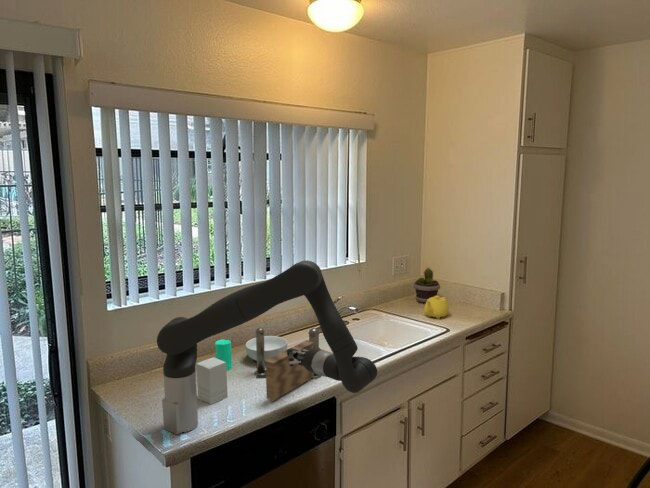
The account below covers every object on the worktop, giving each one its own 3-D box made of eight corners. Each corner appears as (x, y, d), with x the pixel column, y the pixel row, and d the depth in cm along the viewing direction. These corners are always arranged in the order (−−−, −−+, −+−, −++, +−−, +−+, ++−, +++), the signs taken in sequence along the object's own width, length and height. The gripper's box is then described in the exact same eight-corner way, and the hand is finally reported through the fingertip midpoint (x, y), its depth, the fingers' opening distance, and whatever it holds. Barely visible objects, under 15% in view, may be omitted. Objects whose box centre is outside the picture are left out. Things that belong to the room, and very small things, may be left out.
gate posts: (321, 378, 186) (321, 331, 183) (252, 378, 187) (251, 330, 184) (322, 370, 193) (322, 324, 190) (255, 370, 194) (254, 324, 191)
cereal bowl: (263, 348, 216) (263, 332, 215) (295, 356, 208) (295, 339, 207) (237, 362, 202) (236, 345, 201) (270, 370, 193) (270, 353, 192)
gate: (307, 373, 188) (306, 340, 186) (314, 376, 186) (314, 342, 184) (265, 398, 169) (264, 360, 167) (273, 401, 167) (272, 363, 165)
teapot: (435, 323, 249) (436, 302, 247) (416, 318, 257) (417, 297, 255) (454, 314, 262) (454, 294, 260) (435, 310, 270) (436, 291, 268)
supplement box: (228, 397, 172) (227, 362, 170) (210, 405, 167) (208, 368, 164) (215, 390, 177) (213, 356, 175) (197, 398, 171) (195, 362, 169)
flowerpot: (434, 306, 276) (436, 271, 273) (408, 302, 284) (409, 268, 281) (443, 300, 289) (444, 266, 285) (418, 296, 297) (419, 263, 293)
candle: (228, 371, 193) (227, 341, 191) (213, 370, 194) (212, 340, 192) (234, 365, 199) (233, 336, 197) (219, 364, 200) (218, 335, 198)
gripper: (337, 344, 159) (303, 335, 172) (303, 357, 150) (271, 346, 164) (339, 367, 159) (305, 356, 173) (306, 381, 151) (273, 368, 164)
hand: (288, 351), depth 168 cm, fingers closed
